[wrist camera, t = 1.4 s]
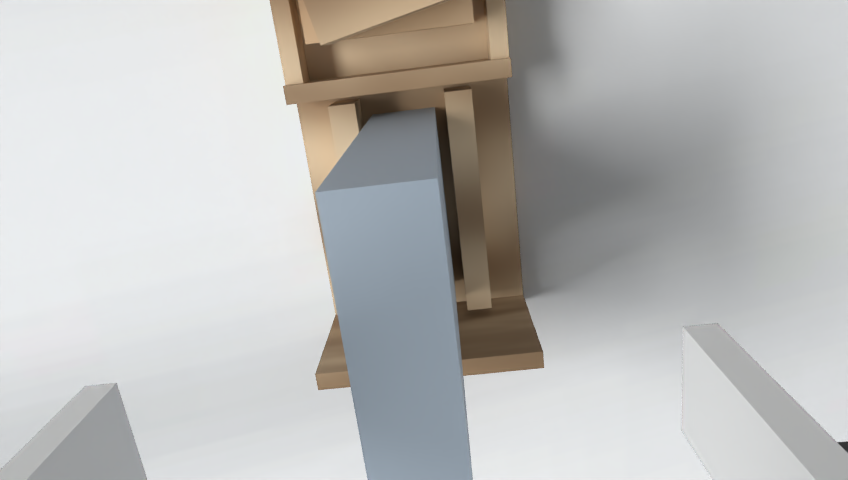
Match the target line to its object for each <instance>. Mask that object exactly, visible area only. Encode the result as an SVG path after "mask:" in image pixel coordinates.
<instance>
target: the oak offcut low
mask: <svg viewBox="0 0 848 480" xmlns="http://www.w3.org/2000/svg"><path fill="white" fill-rule="evenodd" d="M298 4H299V10H300V16H301V21H302V27H303V33H304V38H305V44H317V43H319V41H318V38H317V35H316V33H315V30H314V27H313V25H312V22H311V19H310V17H309V14H308V12H307V9H306V6H305V4H304V1H303V0H298ZM472 23H474V16H473V5H472V0H451V1H448V2H445V3H442V4H440V5H437V6H434V7H432V8H429V9H426V10H423V11H421V12H418V13H415V14H412V15H410V16H407V17H404V18H401V19H399V20H396V21H393V22H391V23H388V24H385V25H382V26H380V27H377V28H374V29H371V30H369V31H366V32H363V33H361V34H358V35H355V36H352V37H350V38H347V39H344V40H349V39H357V38H365V37H373V36H380V35H388V34H396V33H404V32H412V31H419V30H427V29H435V28H443V27H451V26H458V25H466V24H472Z"/></svg>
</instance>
